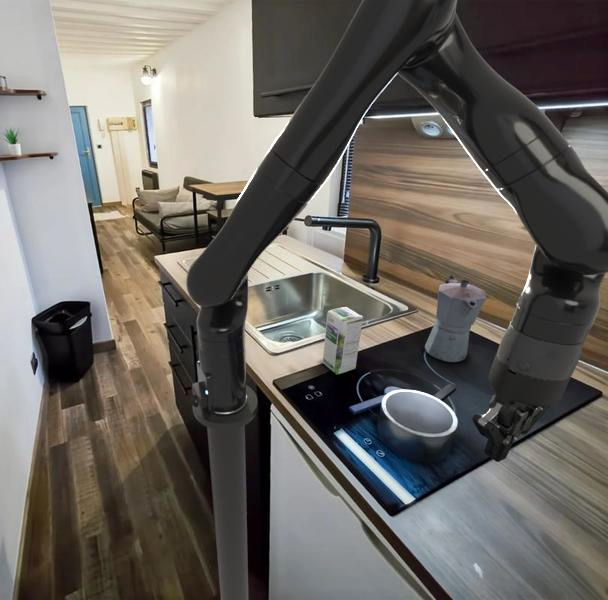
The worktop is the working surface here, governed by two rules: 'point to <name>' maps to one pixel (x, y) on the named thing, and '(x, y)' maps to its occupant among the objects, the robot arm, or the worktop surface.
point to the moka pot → (454, 319)
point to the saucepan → (418, 424)
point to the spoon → (371, 402)
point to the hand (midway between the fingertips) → (493, 456)
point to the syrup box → (342, 339)
